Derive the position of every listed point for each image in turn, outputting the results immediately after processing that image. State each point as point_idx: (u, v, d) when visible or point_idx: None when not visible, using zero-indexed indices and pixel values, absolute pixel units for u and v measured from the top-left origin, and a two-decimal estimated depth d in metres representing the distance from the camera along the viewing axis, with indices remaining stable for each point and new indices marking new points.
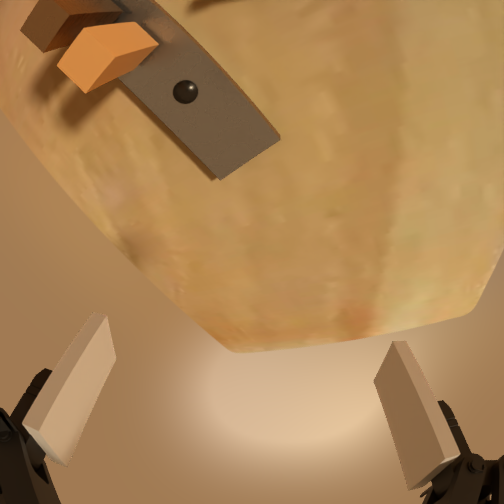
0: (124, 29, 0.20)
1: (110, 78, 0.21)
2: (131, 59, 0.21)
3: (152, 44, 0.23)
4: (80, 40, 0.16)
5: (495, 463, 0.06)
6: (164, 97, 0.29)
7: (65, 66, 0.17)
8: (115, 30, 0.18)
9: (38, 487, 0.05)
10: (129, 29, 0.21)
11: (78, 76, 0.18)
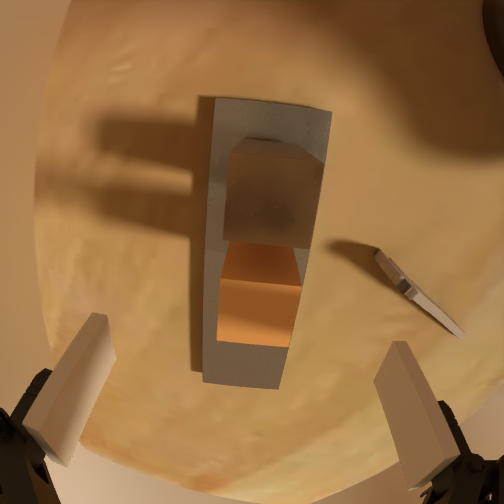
0: None
1: None
2: None
3: None
4: (281, 293, 0.15)
5: (495, 463, 0.06)
6: None
7: (229, 294, 0.15)
8: None
9: (38, 487, 0.05)
10: None
11: (230, 320, 0.16)
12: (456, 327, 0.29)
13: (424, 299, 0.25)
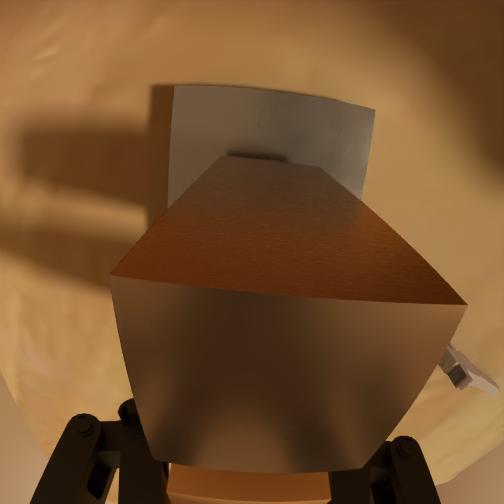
0: None
1: None
2: None
3: None
4: None
5: (386, 450, 0.08)
6: None
7: (189, 503, 0.06)
8: None
9: (163, 486, 0.06)
10: None
11: None
12: (493, 387, 0.20)
13: (472, 377, 0.16)
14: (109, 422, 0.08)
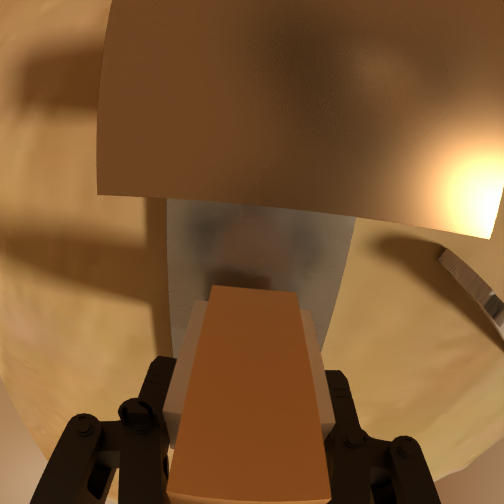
0: None
1: None
2: None
3: None
4: None
5: (386, 451, 0.08)
6: None
7: None
8: None
9: (163, 487, 0.06)
10: None
11: None
12: None
13: None
14: (109, 422, 0.08)
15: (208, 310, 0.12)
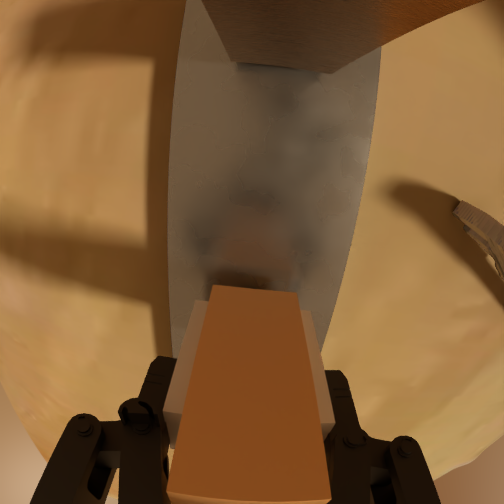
0: None
1: None
2: None
3: None
4: None
5: (386, 450, 0.08)
6: (210, 287, 0.16)
7: (189, 503, 0.06)
8: None
9: (163, 486, 0.06)
10: None
11: None
12: None
13: None
14: (109, 422, 0.08)
15: (208, 310, 0.12)
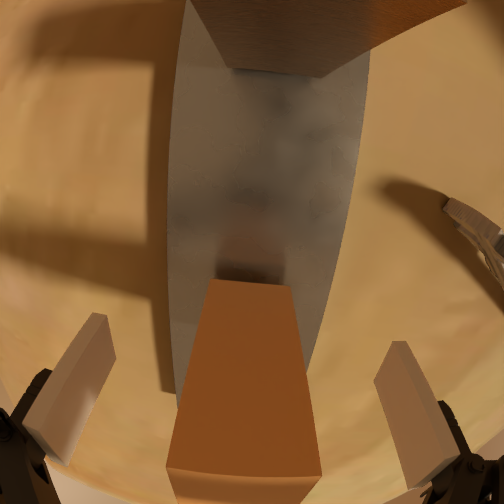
0: None
1: None
2: None
3: None
4: (282, 484, 0.06)
5: (495, 463, 0.06)
6: (208, 282, 0.16)
7: (187, 481, 0.06)
8: None
9: (38, 487, 0.05)
10: None
11: (196, 498, 0.07)
12: None
13: None
14: None
15: (206, 301, 0.13)
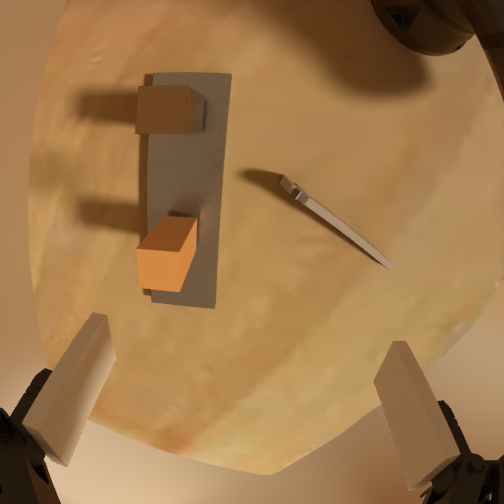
0: (190, 238, 0.32)
1: None
2: None
3: (194, 253, 0.35)
4: (168, 257, 0.26)
5: (495, 463, 0.06)
6: None
7: (141, 257, 0.26)
8: (187, 244, 0.30)
9: (38, 487, 0.05)
10: (192, 236, 0.33)
11: (144, 274, 0.27)
12: (375, 250, 0.38)
13: (323, 210, 0.33)
14: None
15: (160, 221, 0.33)
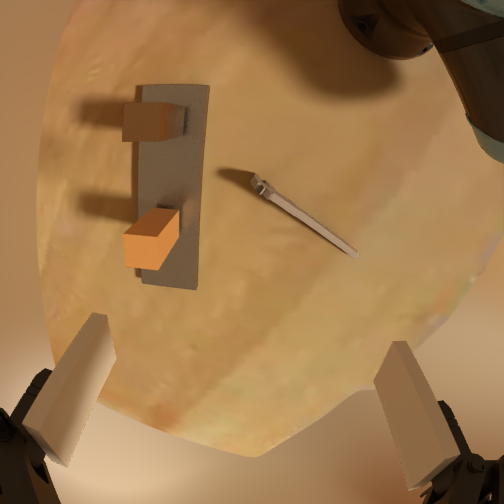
0: (171, 227, 0.37)
1: None
2: None
3: (175, 240, 0.40)
4: (148, 240, 0.31)
5: (495, 463, 0.06)
6: None
7: (127, 241, 0.32)
8: (167, 231, 0.35)
9: (38, 487, 0.05)
10: (173, 225, 0.38)
11: (130, 254, 0.32)
12: (340, 241, 0.43)
13: (287, 204, 0.38)
14: None
15: (147, 212, 0.38)
